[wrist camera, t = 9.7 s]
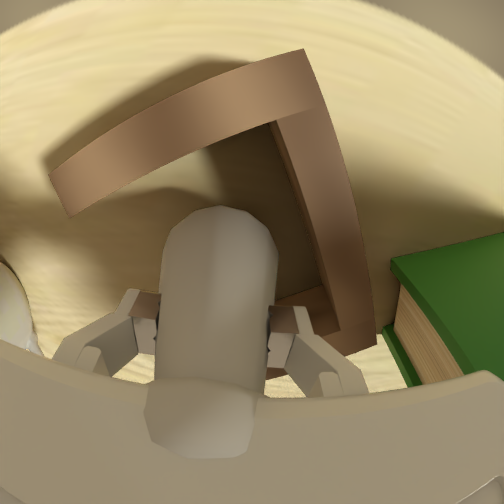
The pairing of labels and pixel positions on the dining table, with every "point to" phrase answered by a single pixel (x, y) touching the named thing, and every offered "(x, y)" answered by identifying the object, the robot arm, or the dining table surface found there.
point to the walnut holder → (294, 159)
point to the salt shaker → (212, 333)
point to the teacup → (16, 313)
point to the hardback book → (449, 311)
